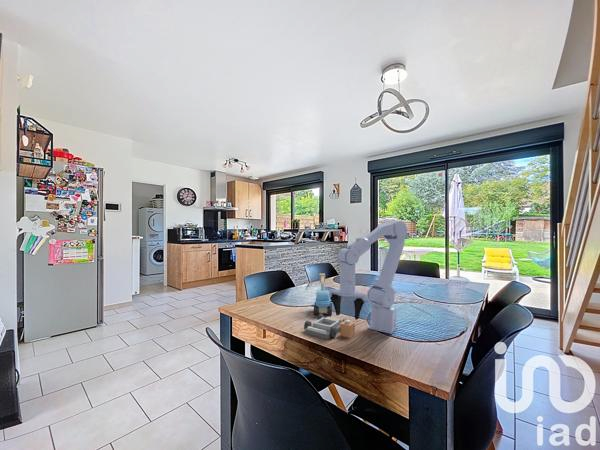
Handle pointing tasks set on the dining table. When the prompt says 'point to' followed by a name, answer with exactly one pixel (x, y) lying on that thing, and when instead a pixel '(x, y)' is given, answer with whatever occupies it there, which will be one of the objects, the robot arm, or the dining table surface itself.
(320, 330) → the chassis
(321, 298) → the toy excavator
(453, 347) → the dining table surface
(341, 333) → the block
